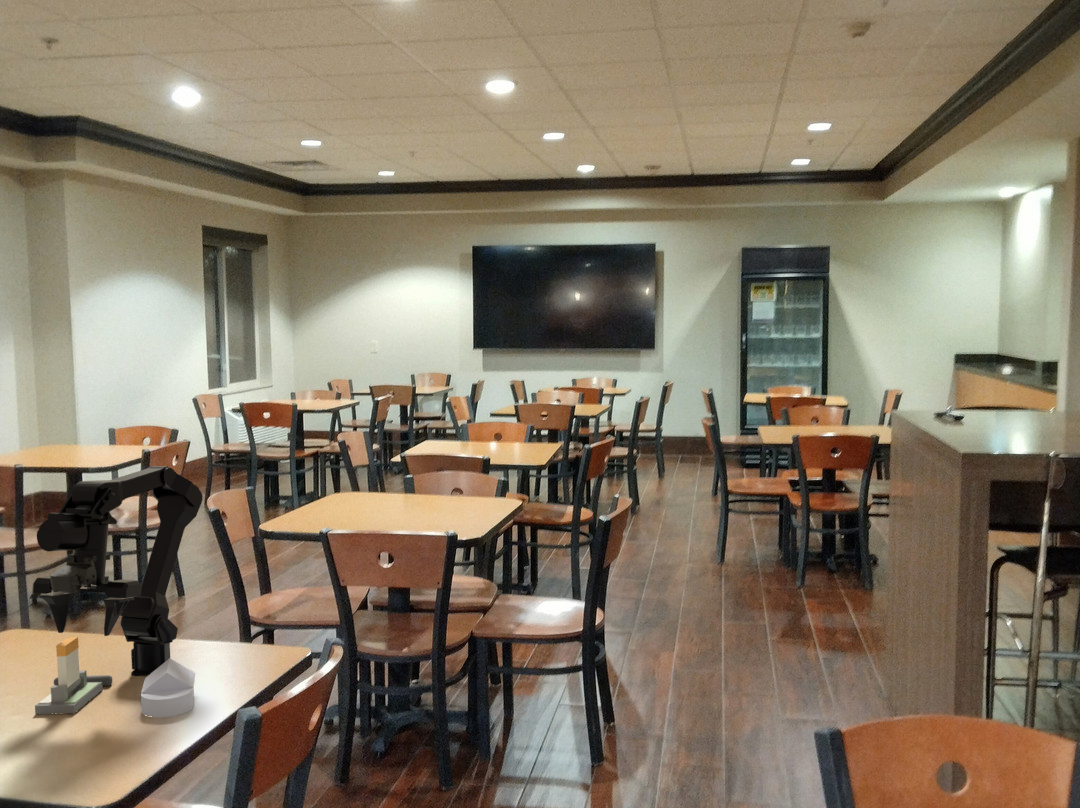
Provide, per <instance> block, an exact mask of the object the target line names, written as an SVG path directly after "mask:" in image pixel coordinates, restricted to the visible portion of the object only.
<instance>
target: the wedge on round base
mask: <svg viewBox="0 0 1080 808" xmlns="http://www.w3.org/2000/svg"><path fill="white" fill-rule="evenodd" d="M195 679H196V672H195V671H193V670H192V669H190V668H187V667H186V666H184V665H183V664H181V663H179V662H178V661H176V660H173V659H172V658H171V657H170V658H169V659H168V660H167V661H166V662H164V663H163V664H162V665H161V666H159V667H158V668H157V669H156V670H155V671H153V672H152V673H151V674H150V675H146V677H144V681H143V685H142V688H141V693H140V701H141V702H140V704H141V714H142V713H143V714H144V715H147V716H152V717H165V718H172V717H175V716H181V715H184V714H186V713H188V712H190V711H191V710H193V709H194V707H195V692H194V691H195V690H194V689H195V688H194V687H195V681H196V680H195ZM143 714H142V715H143ZM144 715H143V716H144ZM147 716H146V717H147Z"/></svg>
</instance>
